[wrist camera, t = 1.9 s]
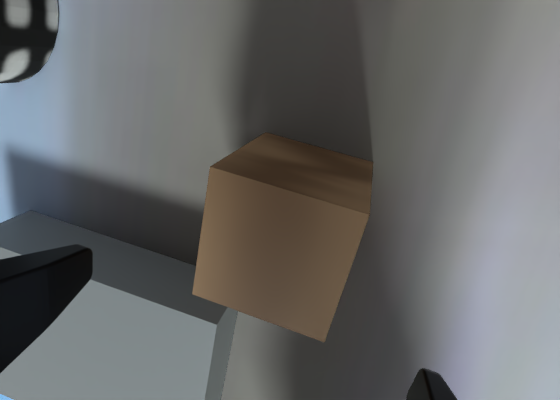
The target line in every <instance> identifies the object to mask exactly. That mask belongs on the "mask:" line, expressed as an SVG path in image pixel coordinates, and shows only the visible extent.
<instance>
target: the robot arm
mask: <svg viewBox="0 0 560 400" xmlns="http://www.w3.org/2000/svg"><path fill="white" fill-rule="evenodd" d="M92 274H93V252H92V250H91V249H90V248H89V247H86V246H83V245H80V244H73V245H68V246H63V247H59V248H54V249H49V250H44V251H39V252H34V253H29V254H24V255H19V256H14V257H9V258H5V259H0V373H1V372H2V371H3V370H4V369H6V368H7V367H8V366H9V365H10V364H11V363H12V362H13V361H14V360H15V359H16V358H17V357H18V356H19V355H20V354H21V353H22V352H23V351H24V350H25V349H26V348H28V347H29V346H30V345H31V344H32V343H33V342H34V341H35V340H36V339H37V338H38V337H39V336H40V335H41V334H42V333H43V332H44V331H45V330H46V329H47V328H48V327H49V326H50V325H51V324H52V323H53V322H54V321H55V320H56V319H57V318H58V316H59V315H60V314H61V313H62V312H63V311H64V310H65V308H66V307H67V306H68V305H69V304H70V303H71V302H72V300H73V299H74V298H75V297H76V296H77V295H78V293H79V292H80V291H81V290H82V289H83V288H84V287H85V285H86V284H87V283H88V282H89V281H90V279H91V277H92ZM406 400H457V398H456V397H455V395H454V394H453V393H452V391H451V390H450V388H449V387H448V385H447V384H446V382H445V381H444V379H443V378H442V377H441V375H440V374H438V373H436V372H433V371H431V370H428V369H425V368H422V369H420V370H419V372H418V373H417V375H416V377H415V379H414V381H413V383H412V385H411V387H410V389H409V391H408V394H407V399H406Z"/></svg>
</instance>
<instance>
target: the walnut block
mask: <svg viewBox="0 0 560 400" xmlns="http://www.w3.org/2000/svg"><path fill="white" fill-rule="evenodd" d="M372 174H373V162H371V161H367V160H363V159H360V158H356V157H353V156H349V155H345V154H342V153H338V152H335V151H331V150H328V149H324V148H320V147H317V146H313V145H310V144H306V143H302V142H299V141H295V140H292V139H288V138H284V137H281V136H277V135H274V134H270V133H264V134H262V135H261V136H259V137H257V138H256V139H254V140H253V141H251V142H249V143H248V144H246V145H244V146H243V147H241V148H240V149H238V150H236V151H235V152H233V153H231V154H230V155H228V156H227V157H225V158H223V159H222V160H220V161H219V162H217V163H215V164H214V165H212V166H210V171H209V178H208V185H207V192H206V199H205V206H204V213H203V221H202V228H201V235H200V242H199V249H198V256H197V263H196V270H195V278H194V285H193V292H192V294H193V295H196V296H198V297H201V298H204V299H207V300H209V301H212V302H215V303H218V304H220V305H223V306H226V307H229V308H231V309H234V310H237V311H240V312H242V313H245V314H248V315H251V316H253V317H256V318H259V319H262V320H264V321H267V322H270V323H272V324H275V325H278V326H281V327H283V328H286V329H289V330H292V331H294V332H297V333H300V334H303V335H305V336H308V337H311V338H314V339H316V340H319V341H322V342H325V340H326V337H327V334H328V331H329V328H330V326H331V323H332V320H333V317H334V314H335V311H336V309H337V306H338V303H339V300H340V297H341V295H342V292H343V289H344V286H345V283H346V280H347V278H348V275H349V272H350V269H351V266H352V264H353V261H354V258H355V255H356V252H357V249H358V247H359V244H360V241H361V238H362V235H363V233H364V230H365V227H366V224H367V221H368V219H369V216H370V204H371V189H372Z"/></svg>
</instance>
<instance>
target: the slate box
mask: <svg viewBox="0 0 560 400" xmlns="http://www.w3.org/2000/svg"><path fill="white" fill-rule="evenodd" d="M73 244H80V245H83V246H86V247H89V248H90V249H91V250H92V252H93V274H92V277H91V279H90V281H89V282H88V283H87V284H86V285H85V287H84V288H83V289H82V290H81V291H80V292H79V293H78V295H77V296H76V297H75V298H74V299H73V300H72V302H71V303H70V304H69V305H68V306H67V307H66V308H65V310H64V311H63V312H62V313H61V314H60V315H59V316H58V318H57V319H56V320H55V321H54V322H53V323H52V324H51V325H50V326H49V327H48V328H47V329H46V330H45V331H44V332H43V333H42V334H41V335H40V336H39V337H38V338H37V339H36V340H35V341H34V342H33V343H32V344H31V345H30V346H29V347H28V348H26V349H25V350H24V351H23V352H22V353H21V354H20V355H19V356H18V357H17V358H16V359H15V360H14V361H13V362H12V363H11V364H10V365H9V366H8V367H7V368H6V369H4V370H3V371H2V372H1V373H0V394H2V395H5V396H7V397H9V398H11V399H14V400H221V396H222V391H223V386H224V381H225V375H226V370H227V365H228V360H229V355H230V349H231V344H232V339H233V334H234V328H235V323H236V318H237V313H238V311H237V310H234V309H231V308H229V307H226V306H223V305H220V304H218V303H215V302H212V301H209V300H207V299H204V298H201V297H198V296H196V295H193V294H192V292H193V285H194V278H195V270H196V266H195V265H192V264H189V263H186V262H183V261H180V260H177V259H174V258H171V257H168V256H165V255H162V254H159V253H156V252H153V251H150V250H147V249H144V248H141V247H138V246H135V245H132V244H129V243H126V242H123V241H120V240H117V239H114V238H111V237H108V236H105V235H102V234H99V233H96V232H93V231H90V230H87V229H84V228H81V227H78V226H75V225H72V224H69V223H66V222H63V221H60V220H57V219H54V218H52V217H49V216H46V215H43V214H40V213H37V212H34V211H31V210H30V211H28V212H25V213H23V214H21V215H18V216H16V217H14V218H11V219H9V220H7V221H4V222H2V223H0V259H5V258H9V257H14V256H19V255H24V254H29V253H34V252H39V251H44V250H49V249H54V248H59V247H63V246H68V245H73Z"/></svg>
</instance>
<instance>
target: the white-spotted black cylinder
mask: <svg viewBox="0 0 560 400" xmlns="http://www.w3.org/2000/svg"><path fill="white" fill-rule="evenodd" d="M58 15H59V13H58V2H57V0H0V83H13V82H20V81H23V80H26V79H29V78H31V77H32V76H33V75H35V74H36V73H37V72H39V71H40V70H41V68H42V67H43V66H44V65H45V63H46V62H47V61H48V59H49V57H50V54H51V52H52V50H53V48H54V44H55V40H56V36H57V31H58Z"/></svg>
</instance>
